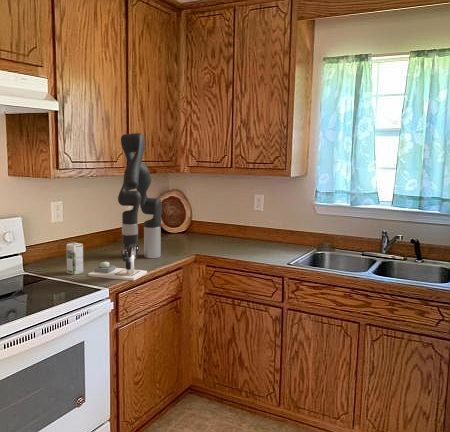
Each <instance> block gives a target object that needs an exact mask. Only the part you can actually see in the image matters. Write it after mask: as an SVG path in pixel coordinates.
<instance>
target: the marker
mask: <svg viewBox="0 0 450 432" xmlns="http://www.w3.org/2000/svg"><path fill="white" fill-rule="evenodd" d="M128 255H129V254H128ZM128 258H129V257H128ZM130 262H131V269H130V270H127V269H126V268H125V269H126V273H127V274H133V273H134V270H135V267H134V251H132V257H131V261H130Z"/></svg>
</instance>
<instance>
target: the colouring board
mask: <svg viewBox="0 0 450 432" xmlns="http://www.w3.org/2000/svg"><path fill="white" fill-rule="evenodd" d="M146 274H148V271H147V270H142V269H134V273H133V274H127V273H126V268H120V267H116V265H112V264H109V268H101V265H100V264H99V265H98V266H96V267H94V270H93V271H91V272H88V274H87V276H88V277H92V278H93V277H94V278H105V279H112V280H113V279H114V280H123V281H134V282H135V281H136V280H138V279H139V278H141V277H143V276H145V275H146Z"/></svg>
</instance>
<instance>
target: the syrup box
mask: <svg viewBox="0 0 450 432" xmlns="http://www.w3.org/2000/svg"><path fill="white" fill-rule="evenodd" d="M66 273H67V274H70V275H78V274H79V275H80V274H83V273H84V244H83V243H80V242H79V243H78V242H69V243H67V244H66Z"/></svg>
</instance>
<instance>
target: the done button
mask: <svg viewBox="0 0 450 432" xmlns="http://www.w3.org/2000/svg"><path fill="white" fill-rule="evenodd" d="M100 265H101V268H109V265H110V262H109V261H101V262H100V264H99V266H100Z"/></svg>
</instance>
